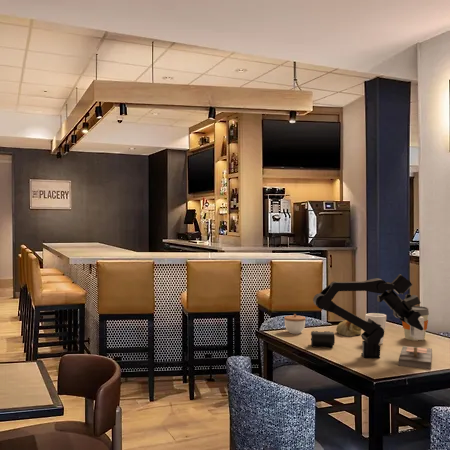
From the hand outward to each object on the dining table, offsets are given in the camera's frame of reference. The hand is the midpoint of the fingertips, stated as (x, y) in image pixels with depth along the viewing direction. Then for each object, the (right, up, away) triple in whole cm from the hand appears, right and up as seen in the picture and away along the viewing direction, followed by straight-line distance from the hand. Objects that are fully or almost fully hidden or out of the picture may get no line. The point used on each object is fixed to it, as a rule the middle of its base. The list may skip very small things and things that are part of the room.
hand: (420, 328), depth 232 cm
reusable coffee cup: (+10, -12, +34) cm, 37 cm away
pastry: (-20, -11, +45) cm, 51 cm away
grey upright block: (-1, -4, 0) cm, 4 cm away
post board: (-4, -12, -5) cm, 14 cm away
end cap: (-38, -12, +17) cm, 44 cm away
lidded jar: (-47, -11, +47) cm, 67 cm away
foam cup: (-12, -12, +25) cm, 30 cm away
